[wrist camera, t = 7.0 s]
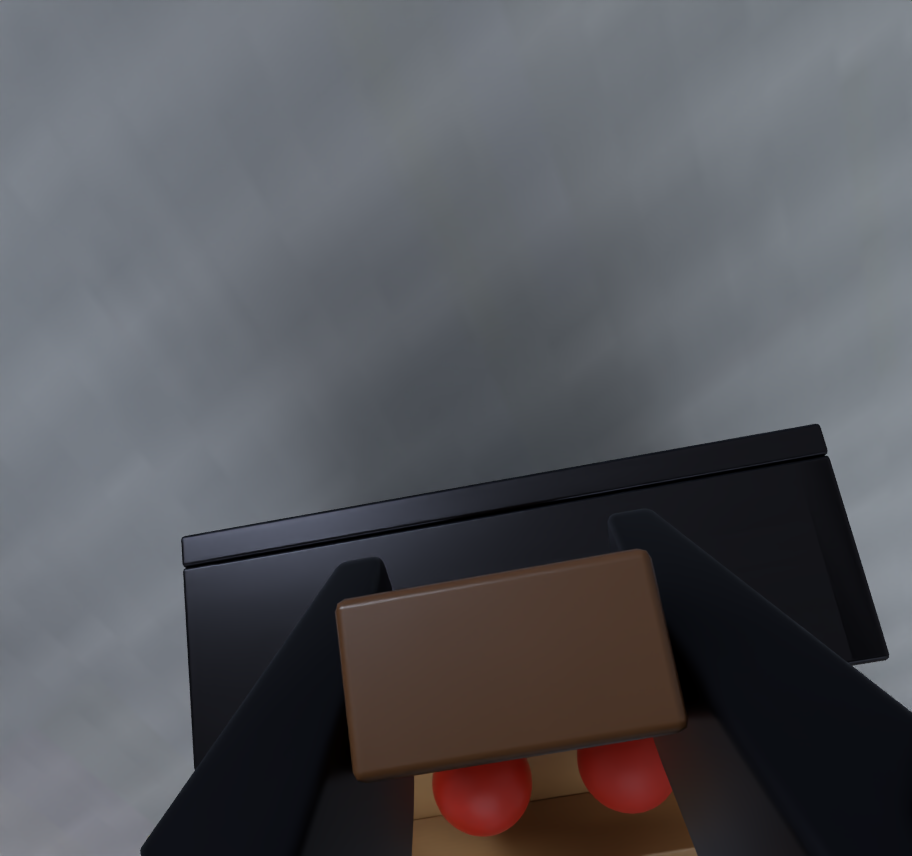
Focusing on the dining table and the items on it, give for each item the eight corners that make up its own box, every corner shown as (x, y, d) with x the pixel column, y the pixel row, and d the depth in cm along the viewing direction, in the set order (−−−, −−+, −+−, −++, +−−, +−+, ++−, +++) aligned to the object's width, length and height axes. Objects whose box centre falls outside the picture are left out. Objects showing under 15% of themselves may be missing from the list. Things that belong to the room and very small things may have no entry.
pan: (-181, 380, 7) (-221, 877, 6) (1105, 133, 6) (1334, 627, 5) (341, 606, 24) (356, 742, 23) (699, 544, 23) (733, 680, 22)
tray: (333, 838, 30) (326, 919, 27) (244, 631, 25) (227, 709, 22) (796, 765, 29) (831, 842, 27) (805, 535, 24) (850, 605, 21)
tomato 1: (435, 855, 24) (418, 743, 25) (446, 830, 27) (431, 731, 28) (540, 839, 24) (521, 727, 25) (540, 815, 27) (523, 715, 28)
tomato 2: (591, 833, 24) (570, 722, 24) (584, 806, 27) (566, 707, 27) (699, 817, 24) (675, 705, 24) (680, 791, 27) (659, 692, 27)
